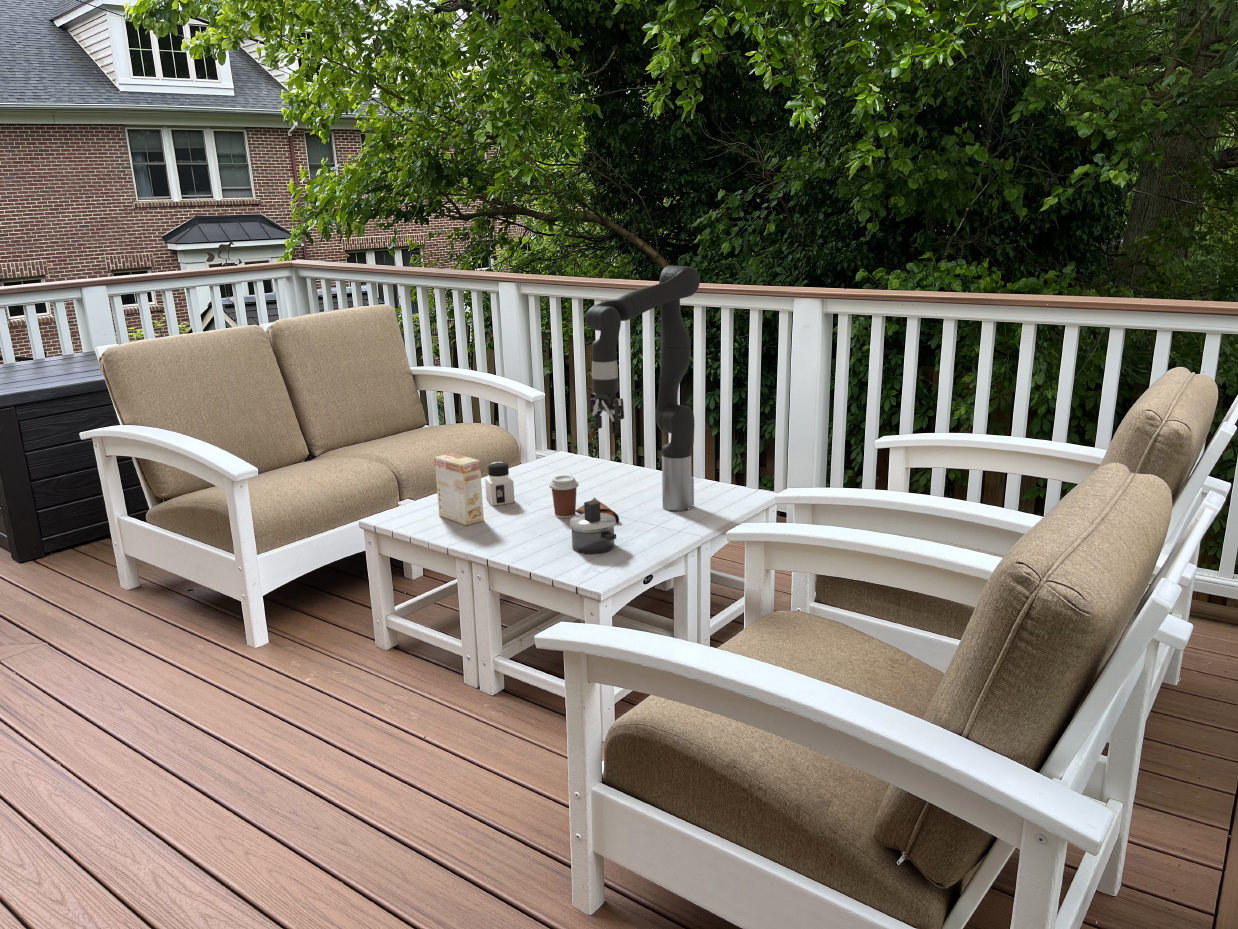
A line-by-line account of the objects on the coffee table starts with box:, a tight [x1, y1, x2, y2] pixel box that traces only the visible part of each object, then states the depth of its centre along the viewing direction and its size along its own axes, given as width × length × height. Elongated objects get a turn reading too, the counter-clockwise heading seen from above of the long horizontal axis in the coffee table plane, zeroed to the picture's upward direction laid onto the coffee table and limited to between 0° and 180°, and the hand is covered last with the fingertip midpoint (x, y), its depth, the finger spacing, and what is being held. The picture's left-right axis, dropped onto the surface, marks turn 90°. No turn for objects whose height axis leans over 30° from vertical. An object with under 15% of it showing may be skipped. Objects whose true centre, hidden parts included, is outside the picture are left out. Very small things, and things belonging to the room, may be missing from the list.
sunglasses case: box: [575, 497, 620, 524], centre depth 296 cm, size 18×7×7 cm
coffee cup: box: [548, 474, 579, 519], centre depth 296 cm, size 9×9×12 cm
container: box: [484, 461, 516, 507], centre depth 311 cm, size 8×8×13 cm
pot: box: [569, 524, 617, 555], centre depth 269 cm, size 13×19×7 cm, turn 36°
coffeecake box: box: [434, 452, 485, 526], centre depth 295 cm, size 15×7×20 cm, turn 44°
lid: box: [569, 499, 616, 531], centre depth 267 cm, size 13×13×6 cm
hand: (606, 430), depth 277 cm, fingers open, 8 cm apart
